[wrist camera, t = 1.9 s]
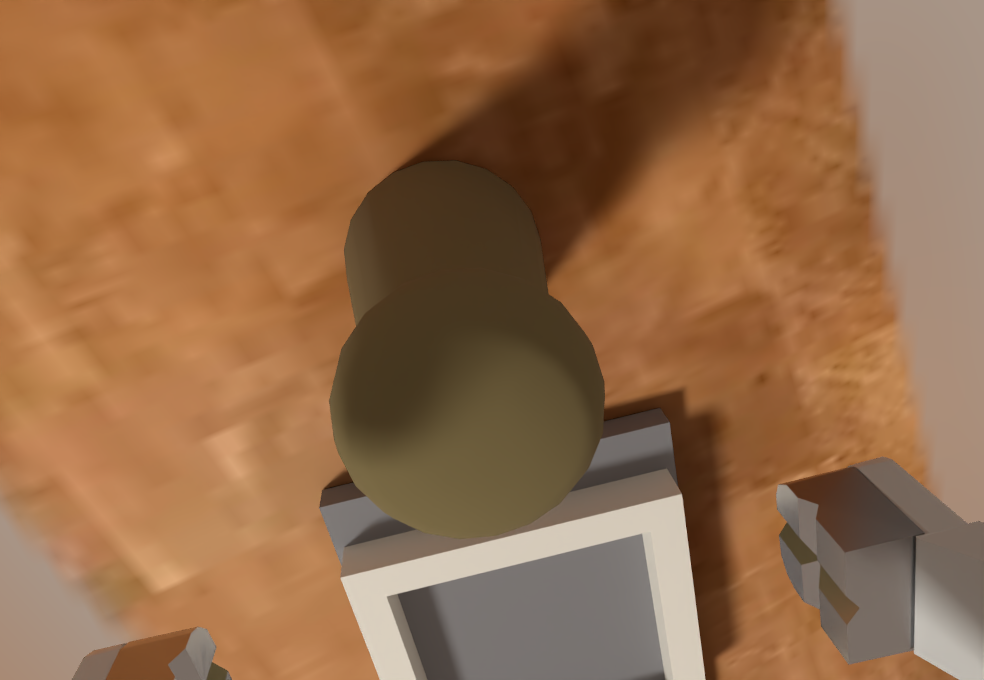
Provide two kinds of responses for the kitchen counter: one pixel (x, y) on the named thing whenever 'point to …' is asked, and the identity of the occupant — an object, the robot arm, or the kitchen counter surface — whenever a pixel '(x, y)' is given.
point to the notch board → (535, 579)
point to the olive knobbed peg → (460, 359)
